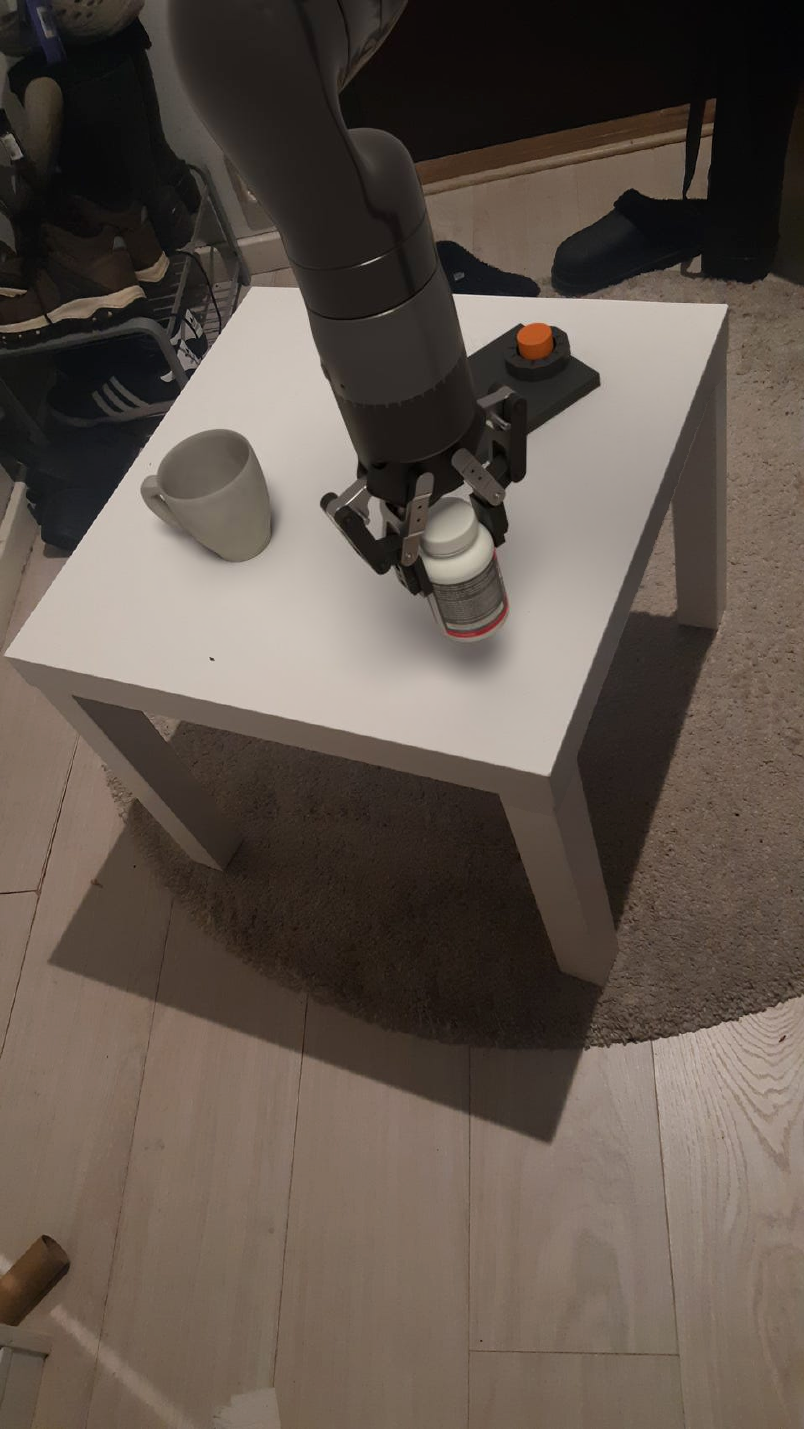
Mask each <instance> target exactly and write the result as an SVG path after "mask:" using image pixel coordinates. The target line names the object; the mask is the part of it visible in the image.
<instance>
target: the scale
mask: <svg viewBox="0 0 804 1429" xmlns="http://www.w3.org/2000/svg"><path fill="white" fill-rule="evenodd" d="M525 326H526V325H525V324H524V323H522V322H519V323H518V324H516V325H515V326H513V327H512V328H510V329H509V330H507V331H506V332H504V333H502V334H501V335H500V336H498V337H496V338H495V339H493V340H492V341H490V342H489V343H487V344H486V345H484V346H483V347H481V348H480V349H478V350H476V351H475V352H473V353H472V354H470V355H468V356H467V357H468V361H469V366H470V370H471V374H472V379H473V383H474V387H475V391H476V396H477V400H479V399H481V398H483V397H486V396H487V392H488V389H489V387H490V386H491V385H492V384H493V383H494V382H497V381H499V382H501V383H503V384H504V385H506V386H508V387H509V388H511V389H512V390H513V391H515V392H516V393H518V394H519V395H520V396H521V397H523V398H524V399H526V401H527V435H529V434H530V433H532V432H533V431H534V430H536V429H538V428H539V427H540V426H542V425H543V424H545V423H546V422H548V421H549V420H551V419H553V418H554V417H555V416H557V415H558V414H560V413H561V412H563V411H564V410H566V409H567V408H569V407H570V406H572V405H573V404H574V403H576V402H578V401H579V400H581V399H582V398H584V397H585V396H586V395H588V394H590V393H591V392H592V391H594V390H596V389H597V388H598V387H600V386H601V374H600V372H598V371H597V370H596V369H594V368H592V367H590V366H589V365H587V364H586V363H585V362H583V361H581V360H580V359H579V358H577V357H575V356H574V355H572V353H571V352H572V351H571V344H570V343H571V342H570V340H569V336H568V333H567V332H566V331H564V330H563V329H561V328H559V327H558V326H555V325H548V326H549V327H550V328H551V331H552V339H553V350H552V352H551V353H550V354H548V355H547V356H545V357H543V358H538V359H534V360H531V359H524V358H523V357H522V356H521V355H520V352H519V346H518V340H517V335H518V332H519V331H520V330H521V329H522V328H523V327H525ZM475 459H476V460H477V461H478V462H479V463H480V464H481V465H482V466H483V465H484V464H485V463H487V462H489V450H488V425H487V424H486V426H485V429H484V432H483V435H482V438H481V440H480V443H479V446H478V449H477V452H476V455H475Z"/></svg>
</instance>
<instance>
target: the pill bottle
mask: <svg viewBox="0 0 804 1429" xmlns="http://www.w3.org/2000/svg"><path fill="white" fill-rule="evenodd" d="M418 554H419V555H420V556H421V557H422V560H423V563H424V566H425V569H426V572H427V575H428V577H429V580H430V583H431V586H432V589H433V593H431V594H430V595H429V596H427V597H426V600H427V603H428V605H429V607H430V610H431V613H432V616H433V618H434V621H435V624H436V626H437V628H438V630H439V631H440V632H441V633H442V634H443V635H444V636H445V637H447V638H449V639H451V640H453V641H456V642H461V643H475V642H479V641H480V642H481V641H483V640H485V639H487V638H489V637H491V636H494V634H496V633H497V632H499V630H500V629H501V628H502V627H503V625H504V624H505V623H506V621H507V619H508V616H509V614H510V603H509V598H508V594H507V589H506V586H505V582H504V579H503V578H504V577H503V575H502V570H501V567H500V563H499V560H498V556H497V551H496V548H495V546H494V542H493V539H492V537H491V534H490V533H489V531H488V530H487V528H486V527H485V526H484V525H482V524H481V523H479V522H478V520H477V518H476V515H475V512H474V509H473V507H472V505H471V502H469V501H468V500H466V499H464V498H461V497H457V496H445V497H444V496H443V497H441V498H440V499H439V500H438V501H437V502H436V503H435V504H434V505H433V506H431V507H430V508H428V513H427V522H426V530H425V532H424V533H421V534H420V540H419V549H418Z"/></svg>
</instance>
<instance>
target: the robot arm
mask: <svg viewBox="0 0 804 1429" xmlns="http://www.w3.org/2000/svg"><path fill="white" fill-rule="evenodd" d="M409 1H410V0H166V1H165V26H166V34H167V41H168V42H167V43H168V48H169V52H170V57H171V60H172V64H173V68H174V71H175V73H176V77H177V78H178V82H179V85H180V86H181V89H182V91H183V93H184V96H185V97H186V99H187V101H188V103H189V105H190V106H191V108H192V109H193V111H194V113H195V114H196V115H197V118H198V119H199V120H200V122H201V123H202V124H203V126H204V128H205V129H206V131H207V132H208V133H209V135H210V136H211V138H212V139H213V140H214V141H215V143H216V144H217V146H218V147H219V149H220V150H221V151H222V153H223V154H224V156H225V158H227V160H228V161H229V163H230V164H231V165H232V167H233V168H234V170H235V172H236V173H237V174H238V175H239V177H240V179H241V180H242V182H243V183H244V184H245V186H246V187H247V189H248V191H249V192H250V193H251V195H252V196H253V197H254V199H255V200H256V201H257V203H258V204H259V205H260V207H261V208H262V209H263V211H264V212H265V213H266V215H267V217H268V218H269V220H271V222H272V223H273V225H274V226H275V228H276V229H277V230H276V231H277V232H278V234H279V237H280V240H281V243H282V245H283V249H284V252H285V255H286V257H287V259H288V260H287V261H288V262H289V265H290V267H291V268H290V269H291V270H292V273H293V275H294V278H295V282H296V283H297V286H298V289H299V292H300V294H301V297H302V299H303V303H304V307H305V309H306V313H307V317H308V322H309V328H310V332H311V336H312V340H313V342H314V346H315V348H316V352H317V354H318V356H319V362H320V364H319V365H320V369H321V371H322V373H323V375H324V377H325V379H326V380H327V381H328V383H329V386H330V388H331V391H332V394H333V396H334V399H335V402H336V405H337V407H338V410H339V412H340V415H341V417H342V418H341V419H342V420H343V423H344V426H345V428H346V431H347V433H348V436H349V439H350V441H351V444H352V446H353V448H354V451H355V453H356V456H357V467H356V479H357V480H355V481H354V482H353V483H352V484H350V486H348V488H346V489H345V490H344V491H343V492H342V493H341V494H339V496H338V494H337V493H335V491H334V492H333V491H329V492H327V493H325V494H323V496H322V497H321V498H320V500H319V507H320V509H321V510H322V512H324V514H325V515H326V516H327V517H328V519H329V520H330V521H331V523H332V524H333V525H334V527H335V528H336V529H337V530H338V531H339V533H340V534H341V535H342V537H343V538H344V539H345V540H346V542H347V543H348V544H349V545H350V547H352V549H353V551H354V552H355V553H356V554H357V555H358V556H359V557H360V558H361V559H362V560H363V561H364V562H365V563H366V564H367V565H368V566H369V567H370V568H371V569H372V571H373V572H375V574H377V575H379V576H383V575H386V574H388V572H390V570H391V569H392V567H393V569H394V572H395V575H396V577H397V580H398V582H399V583H400V584H401V585H402V586H403V587H404V588H405V589H406V590H407V592H409V593H410V594H411V595H413V596H414V597H415V596H417V595H418V594H419V595H420V596H421V597H422V598H423V599H427V596H429V595H430V594H431V593H433V589H432V586H431V583H430V580H429V577H428V575H427V572H426V569H425V566H424V563H423V560H422V557H421V556H420V555H419V554H418V549H419V540H420V534H421V533H424V532H425V530H426V522H427V513H428V508H430V507H431V506H433V505H434V504H435V503H436V502H437V501H438V500H439V499H440V498H443V497H444V496H445V495H448V494H451V493H452V492H454V491H457V490H458V489H459V488H461V487H463V486H464V485H465V483H466V484H467V485H468V486H469V487H470V488H471V489H472V492H471V493H470V494H468V497H469V501H470V504H471V506H472V507H473V509H474V512H475V515H476V518H477V520H478V522H479V523H481V524H482V525H484V526H485V527H486V528H487V530H488V531H489V533H490V534H491V537H492V539H493V542H494V546H495V549H498V548H500V547H501V546H502V545H504V544H506V542H507V540H506V536H505V535H506V534H507V533H508V532H509V521H508V520H509V519H508V515H507V512H506V507H505V503H504V500H505V498H506V495H507V492H506V490H507V488H508V487H509V486H510V485H511V483H513V484H519V483H521V482H522V481H523V480H524V479H525V477H526V475H527V472H528V471H527V466H528V464H527V463H528V434H527V401H526V399H524V398H523V397H521V396H520V395H519V394H518V393H516V392H515V391H513V390H512V389H511V388H509V387H508V386H506V385H504V384H503V383H501V382H499V381H497V382H494V383H493V384H492V385H491V386H490V387H489V389H488V392H487V396H486V397H483V398H481V399H479V400H477V396H476V391H475V387H474V383H473V379H472V374H471V370H470V366H469V361H468V357H469V356H468V353H467V349H466V346H465V340H464V336H463V332H462V328H461V323H460V320H459V314H458V311H457V307H456V302H455V298H454V295H453V292H452V288H451V286H450V283H449V281H448V278H447V276H446V274H445V271H444V268H443V266H442V263H441V260H440V256H439V253H438V248H437V244H436V240H435V236H434V232H433V228H432V224H431V219H430V215H429V211H428V206H427V203H426V198H425V194H424V189H423V186H422V183H421V179H420V176H419V173H418V170H417V167H416V165H415V162H414V159H413V157H412V155H411V153H410V151H409V150H408V149H407V147H406V146H405V145H404V143H403V142H402V141H401V140H400V139H398V138H397V137H395V136H394V135H393V134H391V133H390V132H387V131H385V130H382V129H379V128H378V129H377V128H372V127H358V128H357V127H356V128H350V129H348V127H347V125H346V123H345V119H344V116H343V112H342V107H341V102H340V96H339V95H340V93H341V92H342V91H343V90H344V89H345V88H346V86H347V85H348V84H349V83H350V82H351V80H352V79H353V78H354V77H355V76H356V74H358V72H359V71H360V70H361V69H362V68H363V67H364V66H365V65H366V64H367V63H368V62H369V60H371V58H372V57H373V56H374V55H375V53H376V52H377V51H378V50H379V48H380V47H381V46H382V45H383V43H384V42H385V40H386V39H387V37H388V36H389V35H390V33H391V31H392V30H393V29H394V27H395V25H396V23H397V22H398V20H399V18H400V17H401V15H402V13H403V12H404V10H405V8H406V6H407V4H408V3H409ZM486 424H487V425H488V450H489V460H488V463H489V464H487V465H486V467H484V466H483V464H482V465H481V464H480V463H479V462H478V461H477V460H476V459H475V455H476V452H477V449H478V446H479V443H480V440H481V438H482V435H483V432H484V429H485V426H486ZM371 498H375V499H377V500H379V512H380V514H381V517H382V526H381V538H377V539H376V537H375V536H374V535H373V534H372V532H371V531H370V530H369V529H368V526H369V525H370V524H371V518H370V510H369V507H368V506H369V501H370V500H371Z"/></svg>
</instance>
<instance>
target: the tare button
mask: <svg viewBox="0 0 804 1429" xmlns="http://www.w3.org/2000/svg"><path fill="white" fill-rule="evenodd" d="M549 326H550V325H548V324H547V323H544V322H533V323H529V324H527V325H525V327H523V328H522V329H521V330H520V331H519V332H518V335H517V340H518V346H519V352H520V355H521V356H522V357H523V358H524V359H531V360H534V359H538V358H543V357H545V356H547V355H548V354H550V353H551V352H552V350H553V339H552V331H551V328H550V327H549Z"/></svg>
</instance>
